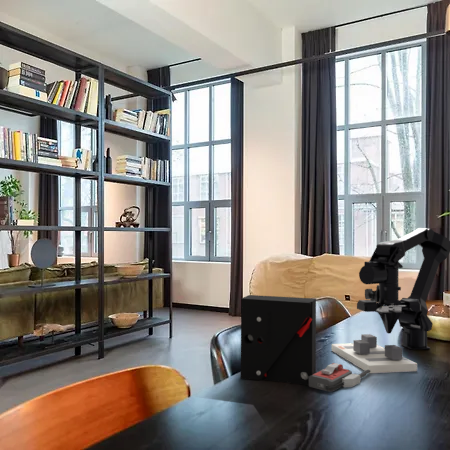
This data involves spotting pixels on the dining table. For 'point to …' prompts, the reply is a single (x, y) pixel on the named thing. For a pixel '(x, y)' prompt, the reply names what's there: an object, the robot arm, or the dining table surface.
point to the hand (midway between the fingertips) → (388, 333)
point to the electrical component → (278, 338)
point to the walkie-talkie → (335, 378)
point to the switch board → (374, 359)
